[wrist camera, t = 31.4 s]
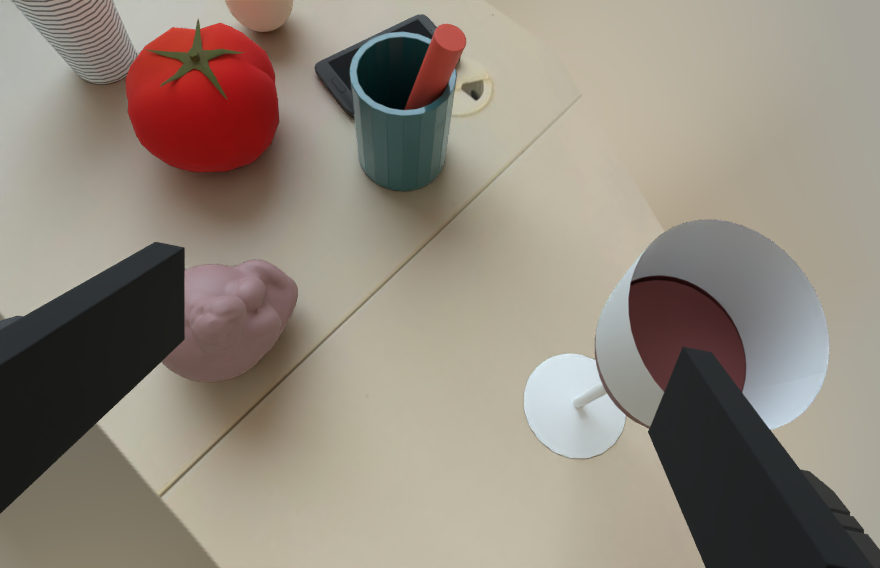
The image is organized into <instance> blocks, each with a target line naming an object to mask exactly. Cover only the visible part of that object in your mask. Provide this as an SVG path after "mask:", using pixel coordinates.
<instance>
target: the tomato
mask: <svg viewBox="0 0 880 568" xmlns="http://www.w3.org/2000/svg"><path fill="white" fill-rule="evenodd" d="M126 95H127V99H128V114H129V117H130V119H131V122H132V125H133V128H134V131H135V134H136V136H137V138H138V139H139V141H140V142H141V144H142V145H143V146H144V147H145V148H146V149H147V150H148V151H149V152H150V153H151V154H153V155H154V156H156V157H158V158H159V159H161V160H162V161H164V162H165V163H167V164H169V165H171V166H174V167H176V168H179V169H183V170H188V171H192V172H224V171H229V170H232V169H235V168H238V167H241V166H244V165H247V164H250V163H252V162H253V161H255V160H256V159H257V158H258V157H259V156H260V155H261V154H262V153H263V152H264V151H265V150H266V149H267V148H268V147H269V146H270V144H271V143H272V140H273V137H274V135H275V132H276V129H277V127H278V124H279V110H278V98H277V92H276V86H275V73H274V70H273V66H272V63H271V61H270V59H269V57H268V55H267V53H266V52H265V51H264V50H263V49H262V48H261V47H259V46H258V45H257V44H256V43H254V42H253V41H252V40H251V39H249V38H248V37H247V36H246V35H244V34H243V33H242V32H240V31H238V30H236V29H234V28H232V27H230V26H227V25H225V24H222V23H218V24H215V25H211V26H208V27H205V28H202V29H200V25H199V20H198V21H197V26H196V30H195V29H184V28H174V27H173V28H171V29H170V30H168V31H167V32H165V33H164V34H162V35H161V36H159V37H158V38H156V39H155V40H154V41H152V42H151V43H149V44H148V45H146V46H145V47H144V48H143V50H142V51H141V52H140V54H139V55H138V56H137V58H136V59H135V60H134V62H133V63H132V64H131V66H130V69H129V71H128V74H127V77H126Z"/></svg>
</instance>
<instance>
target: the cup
mask: <svg viewBox="0 0 880 568" xmlns="http://www.w3.org/2000/svg"><path fill="white" fill-rule="evenodd" d="M11 1H12V2H13V3H14V5H15V6H16V7H17V8H18V9H19V10H20V11H21V12H22V14H23V15H24V16H25V17H26V18H27V19H28V20H29V21H30V22H31V24H32V25H33V26H34V27H35V28H36V29H37V30H38V31H39V32H40V34H41V35H42V36H43V37H44V38H45V39H46V40H47V41H48V43H49V44H50V45H51V46H52V47H53V48H54V49H55V50H56V51H57V53H58V54H59V55H60V56H61V57H62V58H63V59H64V60H65V62H66V63H67V64H68V65H69V66H70V67H71V68H72V69H73V70H74V72H75V73H76V74H77V75H79V76H80V77H81V78H82V79H83V80H86V81H88V82H91V83H94V84H108V83H112V82H115V81H119V80H120V79H122V78H124V77H125V76H127V74H128V71H129V69H130V66H131V64H132V63H133V62H134V60H135V59H136V58H137V55H136V52H135V49H134V46H133V44H132V42H131V40H130V38H129V35H128V33H127V31H126V29H125V26H124V24H123V22H122V20H121V18H120V15H119V13H118V11H117V9H116V6H115V4H114V2H113V0H11Z"/></svg>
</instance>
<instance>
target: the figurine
mask: <svg viewBox="0 0 880 568" xmlns="http://www.w3.org/2000/svg"><path fill="white" fill-rule="evenodd" d="M297 297H298V288H297V285H296V283H295V282H294V280H293V279H292V278H290V277H289V276H288V275H286V274H285V273H284V272H282V271H281V270H280V269H278V268H277V267H276V266H274V265H272V264H270V263H268V262H266V261H262V260H254V259H253V260H249V261H246V262H243V263H241V264H239V265H236V266H233V267H230V266H225V265H219V264H207V265H200V266H195V267H192V268H189V269H186V270H185V340H184V341H183V342H182V343H181V344H180V345H179V346H177V347H176V348H175V349H174V350H173V351H172V352H171V353H170V354H169V355H168V356H167V357H166V358H165V359H164V360H163V361H162V363H163V364H164V365H165V366H166V367H167V368H168V369H170V370H171V371H173V372H174V373H176V374H178V375H180V376H182V377H184V378H187V379H190V380H193V381H198V382H221V381H225V380H229V379H232V378H235V377H237V376H239V375H241V374H243V373H245V372H246V371H248V370H249V369H251V368H252V367H253V366H254V365H255V364H256V363H258V361H259V360H260V359H261V358H262V357H263V356H264V355H265V354H266V353H268V352H269V351H270V350H271V349H272V347H273V346H274V344H275V343H276V341H277V340H278V338H279V336H280V335H281V333H282V331H283V330H284V329H285V327H286V325H287V324H288V322H289V320H290V317H291V315H292V312H293V310H294V308H295V305H296V302H297Z"/></svg>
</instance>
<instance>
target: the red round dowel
mask: <svg viewBox="0 0 880 568" xmlns="http://www.w3.org/2000/svg"><path fill="white" fill-rule="evenodd" d="M465 46H466V37H465V35H464V33H463V32H462V31H461V30H460V29H459V28H458V27H456V26H454V25H451V24H442V25H440V26H438V27H437V28H436V30H435V32H434V34H433V37H432V40H431V42H430V45H429V47H428V50H427V52H426V55H425V58H424V60H423V63H422V65H421V68H420V71H419V73H418V76H417V78H416V81H415V83H414V86H413V89H412V91H411V94H410V96H409V99H408V101H407V104H406V107H405V109H404V110H411V109H419V108H421V107H424V106H426V105H429V104H431V103H433V102H434V101H435V100H437V99H438V98H439V97H440V96H441V95H442V94H443V92H444V90H445V88H446V86H447V84H448V82H449V79H450V77H451V75H452V73H453V71H454V69H455V67H456V65H457V62H458V60H459V58H460V56H461V54H462V52H463V50H464V48H465Z"/></svg>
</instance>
